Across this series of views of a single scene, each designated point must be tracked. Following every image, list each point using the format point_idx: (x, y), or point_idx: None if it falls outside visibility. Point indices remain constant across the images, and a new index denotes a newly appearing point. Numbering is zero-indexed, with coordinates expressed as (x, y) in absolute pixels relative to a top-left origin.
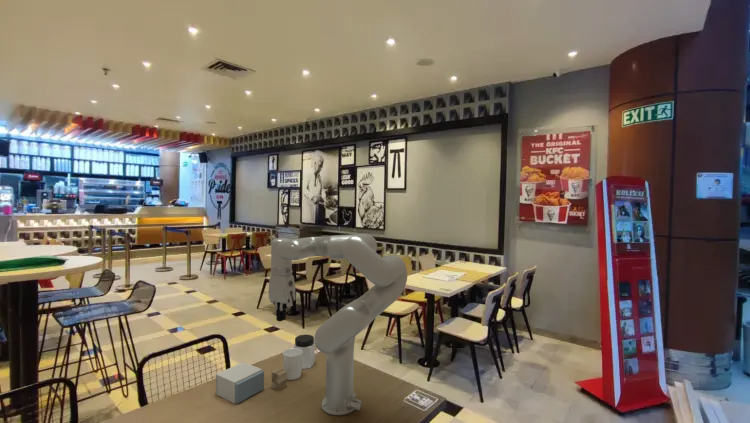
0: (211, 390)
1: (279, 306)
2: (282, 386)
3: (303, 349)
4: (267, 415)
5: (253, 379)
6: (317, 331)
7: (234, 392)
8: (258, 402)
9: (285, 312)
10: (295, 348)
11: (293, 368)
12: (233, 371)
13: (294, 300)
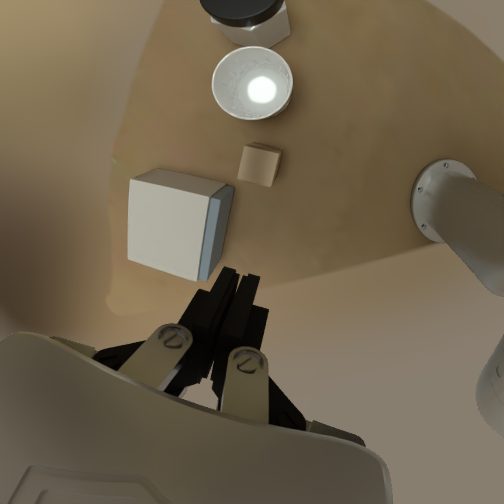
0: None
1: (177, 378)
2: (278, 166)
3: (262, 26)
4: (309, 274)
5: (216, 233)
6: (493, 429)
7: None
8: (259, 238)
9: (261, 341)
10: (241, 49)
11: (279, 112)
12: (149, 235)
13: (376, 461)
